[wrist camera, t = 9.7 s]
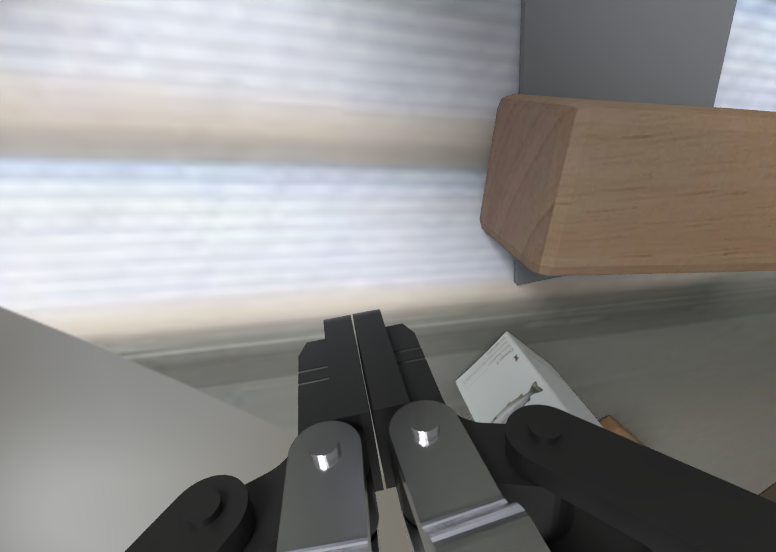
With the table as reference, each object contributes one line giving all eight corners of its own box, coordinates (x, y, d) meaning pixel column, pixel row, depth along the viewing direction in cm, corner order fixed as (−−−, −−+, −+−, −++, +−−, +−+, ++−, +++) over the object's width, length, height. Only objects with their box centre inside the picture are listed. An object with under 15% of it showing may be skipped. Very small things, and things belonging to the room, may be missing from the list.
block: (577, 99, 21) (884, 120, 24) (494, 92, 29) (729, 108, 33) (534, 282, 25) (802, 275, 29) (473, 228, 34) (684, 228, 37)
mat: (522, -52, 27) (527, -55, 26) (745, -74, 28) (753, -77, 28) (514, 281, 37) (517, 284, 37) (675, 250, 39) (680, 253, 39)
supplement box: (505, 327, 39) (586, 428, 28) (550, 363, 42) (640, 467, 31) (451, 380, 41) (507, 495, 30) (499, 411, 44) (566, 526, 33)
